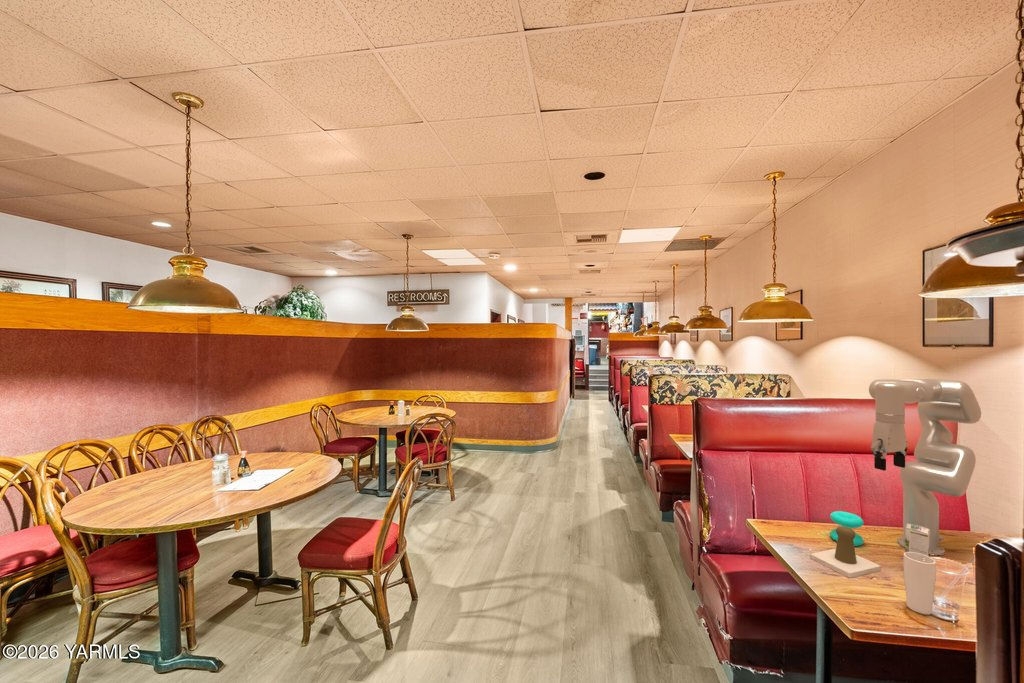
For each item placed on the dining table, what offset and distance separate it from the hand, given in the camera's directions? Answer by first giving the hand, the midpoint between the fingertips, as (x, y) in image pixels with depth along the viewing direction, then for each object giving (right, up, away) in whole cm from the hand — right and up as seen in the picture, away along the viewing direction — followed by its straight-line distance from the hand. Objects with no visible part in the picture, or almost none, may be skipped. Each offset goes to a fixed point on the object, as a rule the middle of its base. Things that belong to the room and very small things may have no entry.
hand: (889, 467), depth 145 cm
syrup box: (+5, -33, -5) cm, 34 cm away
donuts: (-2, -33, +16) cm, 37 cm away
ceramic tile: (-16, -33, -1) cm, 37 cm away
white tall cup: (-14, -33, -25) cm, 44 cm away
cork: (-16, -32, 0) cm, 35 cm away
